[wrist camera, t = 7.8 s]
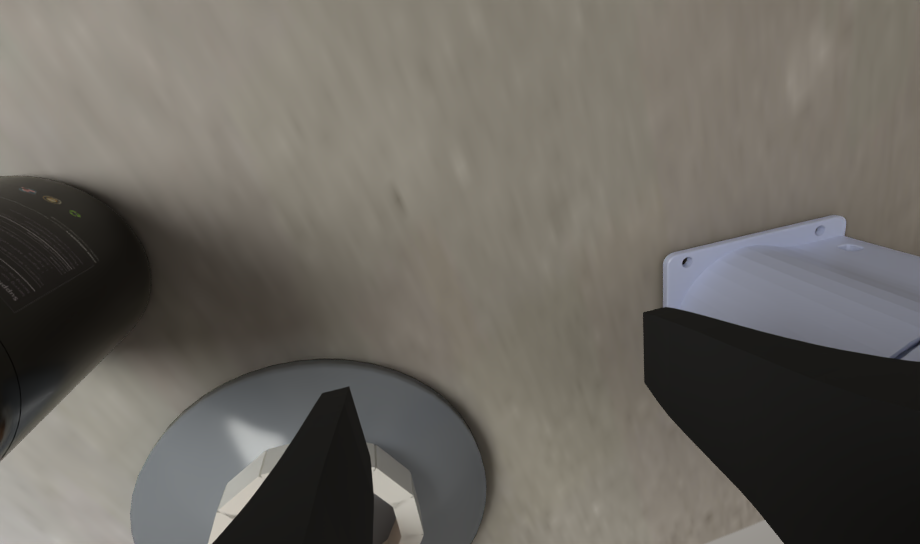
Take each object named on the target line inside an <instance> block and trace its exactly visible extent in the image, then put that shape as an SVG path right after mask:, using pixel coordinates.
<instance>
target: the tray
mask: <svg viewBox="0 0 920 544" xmlns="http://www.w3.org/2000/svg"><path fill="white" fill-rule="evenodd" d="M348 386H349V387H350V391H351V394H352V397H353V401H354V404H355V407H356V410H357V414H358V417H359V420H360V424H361V427H362V430H363V434H364V437H365V440H366V444H367V447H368V450H369V454H370V457H371V468H372V479H373V492H374V519H373V544H471V543H472V541H473V539H474V537H475V535H476V533H477V531H478V528H479V525H480V523H481V520H482V516H483V512H484V508H485V503H486V477H485V469H484V466H483V462H482V458H481V455H480V452H479V449H478V446H477V443H476V441H475V439H474V437H473V435H472V432H471V430H470V428H469V427H468V425H467V424H466V422H465V421H464V419H463V418H462V417H461V415H460V414H459V413H458V412H457V411H456V410H455V408H454V407H453V406H452V405H451V404H450V403H449V402H448V401H447V400H446V399H444V398H443V397H442V396H441V395H439V394H438V393H437V392H435V391H434V390H433V389H432V388H430V387H428V386H426V385H425V384H423V383H421V382H420V381H418V380H416V379H414V378H412V377H410V376H407V375H405V374H402V373H400V372H398V371H395V370H392V369H389V368H385V367H382V366H378V365H374V364H370V363H363V362H357V361H351V360H332V359H319V360H305V361H295V362H290V363H284V364H279V365H273V366H270V367H267V368H263V369H260V370H257V371H253V372H250V373H247V374H245V375H243V376H240V377H238V378H236V379H233V380H231V381H229V382H226V383H224V384H223V385H221V386H219V387H217V388H216V389H214V390H212V391H211V392H209V393H207V394H205V395H204V396H202V397H201V398H200V399H199V400H197V401H196V402H195V403H193V404H192V405H191V406H189V407H188V408H187V409H185V410H184V411H183V412H182V413H181V414H180V415H179V416H178V417H177V418H176V419H175V420H174V421H173V422H172V423H171V424H170V425H169V427H168V428H167V429H166V431H165V432H164V433H163V435H162V436H161V438H160V439H159V440H158V442H157V443H156V444H155V446H154V448H153V449H152V451H151V453H150V454H149V456H148V458H147V460H146V462H145V464H144V466H143V468H142V470H141V471H140V473H139V475H138V478H137V482H136V485H135V488H134V491H133V495H132V503H131V512H130V518H131V531H132V536H133V540H134V543H135V544H212V543H213V542H214V541H215V540H216V539H217V538H218V536H219V535H220V534H221V533H222V532H223V531H224V530H225V528H226V527H227V526H228V525H229V524H230V523H231V522H232V520H233V519H234V518H235V517H236V516H237V515H238V513H239V512H240V511H241V510H242V509H243V507H244V506H245V505H246V504H247V503H248V501H249V500H250V499H251V497H252V496H253V495H254V494H255V492H256V491H257V490H258V488H259V487H260V486H261V484H262V483H263V481H264V480H265V479H266V477H267V476H268V475H269V473H270V472H271V471H272V469H273V468H274V466H275V465H276V464H277V462H278V461H279V459H280V458H281V456H282V455H283V453H284V452H285V450H286V449H287V447H288V446H289V444H290V443H291V441H292V440H293V438H294V437H295V435H296V434H297V432H298V430H299V429H300V427H301V426H302V424H303V422H304V421H305V419H306V418H307V416H308V414H309V413H310V411H311V410H312V408H313V406H314V405H315V403H316V402H317V400H318V399H319V397H320V396H321V394H322V393H325V392H328V391H332V390H336V389H340V388H344V387H348Z"/></svg>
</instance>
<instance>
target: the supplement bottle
mask: <svg viewBox="0 0 920 544" xmlns="http://www.w3.org/2000/svg"><path fill="white" fill-rule="evenodd" d="M150 289H151V273H150V267H149V263H148V259H147V256H146V253H145V251H144V249H143V247H142V245H141V243H140V241H139V239H138V238H137V236H136V235H135V233H134V232H133V231H132V229H131V228H130V227H129V225H128V224H127V223H126V222H125V221H124V220H123V219H122V218H121V217H120V216H119V215H118V214H117V213H116V212H115V211H113V210H112V209H111V208H110V207H108V206H107V205H106V204H104V203H103V202H101V201H100V200H98V199H97V198H95V197H93V196H91V195H90V194H88V193H86V192H84V191H82V190H80V189H77V188H75V187H72V186H70V185H67V184H64V183H60V182H57V181H53V180H49V179H44V178H38V177H31V176H0V461H1V460H2V459H3V458H4V457H5V456H6V455H7V454H8V453H10V452H11V451H12V450H13V449H14V448H15V447H16V446H17V445H18V444H19V443H20V442H21V441H22V440H23V439H24V438H25V437H26V436H27V435H28V434H29V433H30V432H31V431H32V430H33V429H34V428H35V427H36V426H37V425H38V424H39V423H40V422H41V421H42V420H43V419H44V418H45V417H46V416H47V415H48V414H49V413H50V412H51V411H52V410H53V409H54V408H55V407H56V406H57V405H58V404H59V403H60V402H61V401H62V400H63V399H64V398H65V397H66V396H67V395H68V394H69V393H70V392H71V391H72V390H73V389H74V388H75V387H76V386H77V385H78V384H79V383H80V382H81V381H82V380H83V379H84V378H85V377H86V376H87V375H88V374H89V373H90V372H91V371H92V370H93V369H94V368H95V367H96V366H97V365H98V364H99V363H100V362H101V361H102V360H103V359H104V358H105V357H106V356H107V355H108V354H109V353H110V352H111V351H112V350H113V349H114V348H115V347H116V346H117V345H118V344H119V343H120V342H121V340H122V339H123V338H124V337H125V336H126V335H127V334H128V333H129V332H130V331H131V330H132V329H133V328H134V326H135V325H136V324H137V322H138V321H139V319H140V318H141V316H142V314H143V313H144V311H145V308H146V306H147V303H148V300H149V295H150Z"/></svg>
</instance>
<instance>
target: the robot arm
mask: <svg viewBox="0 0 920 544" xmlns="http://www.w3.org/2000/svg"><path fill="white" fill-rule="evenodd" d="M816 229H817V230H816ZM845 229H846V220H845V218H844V217H842V216H839V215H830V216H826V217H822V218H817V219H813V220H809V221H805V222H800V223H796V224H792V225H788V226H783V227H779V228H775V229H771V230H766V231H762V232H758V233H753V234H749V235H745V236H741V237H736V238H732V239H728V240H724V241H719V242H715V243H711V244H707V245H702V246H698V247H694V248H690V249H685V250H681V251H677V252H673V253H670V254H669V255H668V256H666V258H665V260H664V262H663V308H659V309H655V310H651V311H647V312H643V332H644V382H645V384H646V385H647V387H648V388H649V390H650V391H651V392H652V394H653V395H654V397H655V398H656V400H657V401H658V402H659V404H660V405H661V406H662V408H663V409H664V410H665V412H666V413H667V414H668V416H669V417H670V418H671V419H672V420H673V421H674V422H675V423H676V424H677V425H678V426H679V427H680V428H681V430H682V431H683V432H684V433H685V434H686V435H687V436H688V437H689V438H690V439H691V440H692V441H693V442H694V443H695V444H696V445H697V446H698V447H699V448H700V449H701V450H702V452H703V453H704V454H705V455H706V456H707V457H708V458H709V459H710V460H711V461H712V462H713V463H714V464H715V465H716V466H717V467H718V468H719V469H720V470H721V471H722V472H723V473H724V474H725V475H726V476H727V477H728V478H729V480H730V481H731V482H732V483H733V484H734V485H735V486H736V487H737V488H738V489H739V490H740V491H741V492H742V493H743V494H744V495H745V497H746V498H747V499H748V500H749V501H750V502H751V503H752V504H753V506H754V507H755V508H756V509H757V510H758V512H759V513H760V514H761V515H762V517H763V518H764V519H765V520H766V522H767V523H768V524H769V525H770V527H771V528H772V529H773V530H774V532H775V533H776V534H777V535H778V536H779V538H780V539H781V540H782V542H783V543H784V544H920V257H919V256H916V255H912V254H908V253H905V252H901V251H897V250H894V249H890V248H887V247H883V246H879V245H876V244H872V243H868V242H865V241H861V240H857V239H854V238H850V237H846V236H845ZM685 258H687V261H686V262H685V264H683V265H682V262H683V260H684V259H685ZM373 519H374V492H373V479H372V468H371V457H370V454H369V450H368V447H367V444H366V440H365V437H364V434H363V430H362V427H361V424H360V420H359V417H358V414H357V410H356V407H355V404H354V401H353V397H352V394H351V391H350V387H349V386H348V387H344V388H340V389H336V390H332V391H328V392H325V393H322V394H321V396H320V397H319V399H318V400H317V402H316V403H315V405H314V406H313V408H312V410H311V411H310V413H309V414H308V416H307V418H306V419H305V421H304V422H303V424H302V426H301V427H300V429H299V430H298V432H297V434H296V435H295V437H294V438H293V440H292V441H291V443H290V444H289V446H288V447H287V449H286V450H285V452H284V453H283V455H282V456H281V458H280V459H279V461H278V462H277V464H276V465H275V466H274V468H273V469H272V471H271V472H270V473H269V475H268V476H267V477H266V479H265V480H264V481H263V483H262V484H261V486H260V487H259V488H258V490H257V491H256V492H255V494H254V495H253V496H252V497H251V499H250V500H249V501H248V503H247V504H246V505H245V506H244V507H243V509H242V510H241V511H240V512H239V513H238V515H237V516H236V517H235V518H234V519H233V520H232V522H231V523H230V524H229V525H228V526H227V527H226V528H225V530H224V531H223V532H222V533H221V534H220V535H219V536H218V538H217V539H216V540H215V541H214V542H213V543H212V544H373Z"/></svg>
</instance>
